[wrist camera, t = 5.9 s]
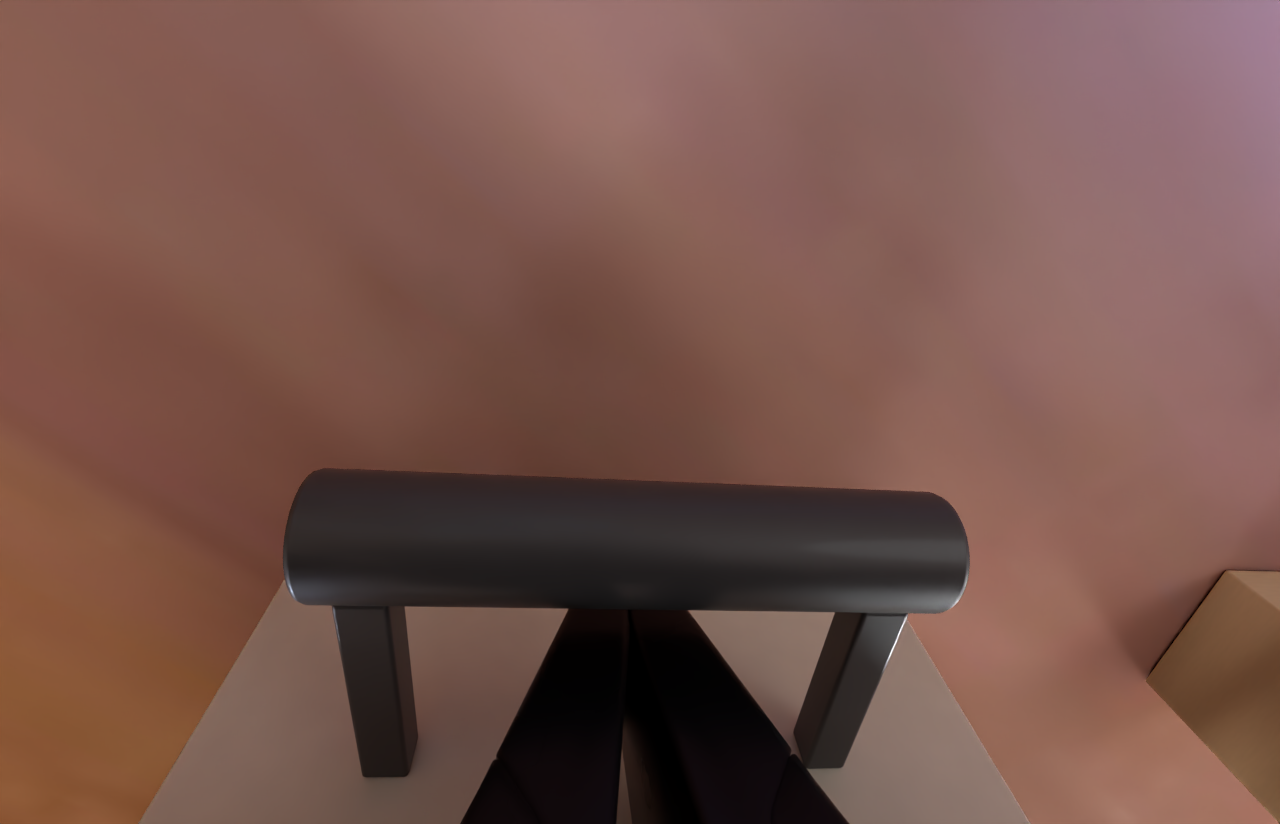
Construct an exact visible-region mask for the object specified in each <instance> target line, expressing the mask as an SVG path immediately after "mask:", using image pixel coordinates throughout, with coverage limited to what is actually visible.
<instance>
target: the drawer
mask: <svg viewBox="0 0 1280 824" xmlns="http://www.w3.org/2000/svg"><path fill="white" fill-rule="evenodd" d="M969 566H970V555H969V546H968V540H967V536H966V533H965V529H964V527H963V524H962V522H961V520H960V518H959V516H958V514H957V512H956V511H955V509H954V508H953V507H952V506H951V505H950V504H949V503H948V502H947V501H946V500H945V499H943V498H942V497H940V496H938V495H936V494H934V493H930V492H916V491H891V490H866V489H840V488H815V487H790V486H764V485H739V484H714V483H689V482H663V481H638V480H613V479H587V478H562V477H537V476H512V475H486V474H461V473H436V472H411V471H385V470H360V469H335V468H323V469H320V470H317V471H314V472H312V473H311V474H309V475H308V476H307V477H306V479H305V480H304V481H303V482H302V484H301V486H300V487H299V489H298V491H297V493H296V495H295V498H294V500H293V503H292V506H291V509H290V512H289V516H288V520H287V525H286V530H285V536H284V546H283V569H284V577H285V579H284V581H283V582H282V584H281V586H280V587H279V589H278V591H277V592H276V594H275V596H274V597H273V599H272V601H271V602H270V604H269V606H268V608H267V609H266V611H265V613H264V614H263V616H262V618H261V619H260V621H259V623H258V624H257V626H256V628H255V629H254V631H253V633H252V634H251V636H250V638H249V639H248V641H247V643H246V644H245V646H244V648H243V649H242V651H241V653H240V654H239V656H238V658H237V659H236V661H235V663H234V664H233V666H232V668H231V669H230V671H229V673H228V674H227V676H226V678H225V679H224V681H223V683H222V684H221V686H220V688H219V689H218V691H217V693H216V694H215V696H214V698H213V699H212V701H211V703H210V704H209V706H208V708H207V709H206V711H205V713H204V714H203V716H202V718H201V719H200V721H199V723H198V724H197V726H196V728H195V729H194V731H193V733H192V734H191V736H190V738H189V739H188V741H187V743H186V745H185V746H184V748H183V750H182V751H181V753H180V755H179V756H178V758H177V760H176V761H175V763H174V765H173V766H172V768H171V770H170V771H169V773H168V775H167V776H166V778H165V780H164V781H163V783H162V785H161V786H160V788H159V790H158V791H157V793H156V795H155V796H154V798H153V800H152V801H151V803H150V805H149V806H148V808H147V810H146V811H145V813H144V815H143V816H142V818H141V820H140V821H139V823H138V824H460V823H461V821H462V819H463V817H464V815H465V813H466V812H467V810H468V808H469V806H470V804H471V802H472V800H473V799H474V797H475V795H476V793H477V791H478V789H479V787H480V785H481V783H482V781H483V779H484V777H485V775H486V773H487V771H488V769H489V767H490V765H491V763H492V761H493V760H495V759H496V754H497V752H498V750H499V748H500V746H501V744H502V742H503V740H504V738H505V736H506V734H507V732H508V730H509V728H510V726H511V724H512V722H513V720H514V718H515V716H516V714H517V712H518V710H519V708H520V706H521V704H522V701H523V699H524V697H525V695H526V693H527V691H528V689H529V687H530V685H531V683H532V681H533V679H534V677H535V675H536V673H537V671H538V669H539V667H540V665H541V663H542V661H543V659H544V657H545V655H546V653H547V651H548V649H549V647H550V645H551V643H552V641H553V639H554V637H555V635H556V633H557V631H558V629H559V627H560V625H561V623H562V621H563V619H564V617H565V615H566V613H567V611H568V609H626V610H688V611H689V612H690V613H691V615H692V616H693V617H694V619H695V620H696V621H697V623H698V624H699V625H700V627H701V628H702V630H703V631H704V632H705V634H706V635H707V636H708V638H709V639H710V640H711V642H712V643H713V644H714V646H715V647H716V648H717V650H718V651H719V652H720V654H721V655H722V656H723V658H724V659H725V660H726V662H727V663H728V664H729V666H730V667H731V668H732V670H733V671H734V672H735V674H736V675H737V676H738V678H739V679H740V680H741V682H742V683H743V684H744V686H745V687H746V688H747V690H748V691H749V692H750V694H751V695H752V696H753V698H754V699H755V700H756V702H757V703H758V704H759V706H760V707H761V708H762V710H763V711H764V713H765V714H766V715H767V717H768V718H769V719H770V721H771V722H772V723H773V725H774V726H775V727H776V729H777V730H778V731H779V733H780V734H781V735H782V737H783V738H784V739H785V741H786V742H787V743H788V745H789V746H790V747H791V750H792V751H791V754H796V755H797V756H798V758H799V759H800V760H801V762H802V763H803V764H804V766H805V767H806V768H807V770H808V771H809V773H810V774H811V775H812V777H813V778H814V779H815V781H816V782H817V783H818V784H819V786H820V787H821V788H822V789H823V791H824V792H825V793H826V795H827V796H828V797H829V798H830V800H831V801H832V802H833V803H834V805H835V806H836V807H837V809H838V810H839V811H840V812H841V814H842V815H843V816H844V817H845V819H846V820H847V821H848V822H849V824H1030V822H1029V820H1028V819H1027V817H1026V815H1025V814H1024V812H1023V810H1022V809H1021V807H1020V805H1019V804H1018V802H1017V800H1016V799H1015V797H1014V795H1013V794H1012V792H1011V790H1010V789H1009V787H1008V786H1007V784H1006V782H1005V781H1004V779H1003V777H1002V776H1001V774H1000V772H999V771H998V769H997V767H996V766H995V764H994V762H993V761H992V759H991V757H990V756H989V754H988V752H987V751H986V749H985V747H984V746H983V744H982V742H981V741H980V739H979V737H978V736H977V734H976V732H975V731H974V729H973V727H972V726H971V724H970V723H969V721H968V719H967V718H966V716H965V714H964V713H963V711H962V709H961V708H960V706H959V704H958V703H957V701H956V699H955V698H954V696H953V694H952V693H951V691H950V689H949V688H948V686H947V684H946V683H945V681H944V679H943V678H942V676H941V674H940V673H939V671H938V669H937V668H936V666H935V665H934V663H933V661H932V660H931V658H930V656H929V655H928V653H927V651H926V650H925V648H924V646H923V645H922V643H921V641H920V640H919V638H918V636H917V635H916V633H915V631H914V630H913V628H912V626H911V625H910V623H909V621H908V620H907V617H908V613H925V614H936V613H942V612H944V611H946V610H948V609H950V608H952V607H953V606H954V605H955V604H956V603H957V602H958V601H959V600H960V598H961V596H962V595H963V593H964V590H965V588H966V584H967V581H968V575H969ZM790 756H791V755H790ZM616 824H632V819H631V811H630V804H629V797H628V789H627V782H626V774H625V767H624V760H623V752H622V753H621V767H620V780H619V794H618V808H617V821H616Z"/></svg>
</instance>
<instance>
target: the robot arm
mask: <svg viewBox="0 0 1280 824" xmlns="http://www.w3.org/2000/svg"><path fill="white" fill-rule="evenodd" d="M791 751H792V750H791V747H790V746H789V745H788V743H787V742H786V741H785V739H784V738H783V737H782V735H781V734H780V733H779V731H778V730H777V729H776V727H775V726H774V725H773V723H772V722H771V721H770V719H769V718H768V717H767V715H766V714H765V713H764V711H763V710H762V708H761V707H760V706H759V704H758V703H757V702H756V700H755V699H754V698H753V696H752V695H751V694H750V692H749V691H748V690H747V688H746V687H745V686H744V684H743V683H742V682H741V680H740V679H739V678H738V676H737V675H736V674H735V672H734V671H733V670H732V668H731V667H730V666H729V664H728V663H727V662H726V660H725V659H724V658H723V656H722V655H721V654H720V652H719V651H718V650H717V648H716V647H715V646H714V644H713V643H712V642H711V640H710V639H709V638H708V636H707V635H706V634H705V632H704V631H703V630H702V628H701V627H700V625H699V624H698V623H697V621H696V620H695V619H694V617H693V616H692V615H691V613H690V612H689V611H688V610H626V609H568V611H567V613H566V615H565V617H564V619H563V621H562V623H561V625H560V627H559V629H558V631H557V633H556V635H555V637H554V639H553V641H552V643H551V645H550V647H549V649H548V651H547V653H546V655H545V657H544V659H543V661H542V663H541V665H540V667H539V669H538V671H537V673H536V675H535V677H534V679H533V681H532V683H531V685H530V687H529V689H528V691H527V693H526V695H525V697H524V699H523V701H522V704H521V706H520V708H519V710H518V712H517V714H516V716H515V718H514V720H513V722H512V724H511V726H510V728H509V730H508V732H507V734H506V736H505V738H504V740H503V742H502V744H501V746H500V748H499V750H498V752H497V754H496V759H495V760H493V761H492V763H491V765H490V767H489V769H488V771H487V773H486V775H485V777H484V779H483V781H482V783H481V785H480V787H479V789H478V791H477V793H476V795H475V797H474V799H473V800H472V802H471V804H470V806H469V808H468V810H467V812H466V813H465V815H464V817H463V819H462V821H461V823H460V824H616V821H617V808H618V794H619V780H620V767H621V753H622V752H623V760H624V767H625V774H626V782H627V789H628V797H629V804H630V811H631V819H632V824H849V822H848V821H847V820H846V819H845V817H844V816H843V815H842V814H841V812H840V811H839V810H838V809H837V807H836V806H835V805H834V803H833V802H832V801H831V800H830V798H829V797H828V796H827V795H826V793H825V792H824V791H823V789H822V788H821V787H820V786H819V784H818V783H817V782H816V781H815V779H814V778H813V777H812V775H811V774H810V773H809V771H808V770H807V768H806V767H805V766H804V764H803V763H802V762H801V760H800V759H799V758H798V756H797V755H796V754H791ZM790 755H791V756H790Z"/></svg>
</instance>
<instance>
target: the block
mask: <svg viewBox="0 0 1280 824" xmlns="http://www.w3.org/2000/svg"><path fill="white" fill-rule="evenodd" d="M1146 682H1147V683H1148V684H1149V685H1150V686H1151V687H1152V688H1153V689H1154V690H1155V691H1156V693H1157V694H1158V695H1159V696H1160V697H1161V698H1162V699H1163V700H1164V701H1165V702H1166V703H1167V704H1168V705H1169V706H1170V707H1171V709H1172V710H1173V711H1174V712H1175V713H1176V714H1177V715H1178V716H1179V717H1180V718H1181V719H1182V720H1183V721H1184V722H1185V723H1186V724H1187V726H1188V727H1189V728H1190V729H1191V730H1192V731H1193V732H1194V733H1195V734H1196V735H1197V736H1198V737H1199V738H1200V739H1201V740H1202V742H1203V743H1204V744H1205V745H1206V746H1207V747H1208V748H1209V749H1210V750H1211V751H1212V752H1213V753H1214V754H1215V755H1216V756H1217V758H1218V759H1219V760H1220V761H1221V762H1222V763H1223V764H1224V765H1225V766H1226V767H1227V768H1228V769H1229V770H1230V771H1231V772H1232V773H1233V775H1234V776H1235V777H1236V778H1237V779H1238V780H1239V781H1240V782H1241V783H1242V784H1243V785H1244V786H1245V787H1246V788H1247V789H1248V791H1249V792H1250V793H1251V794H1252V795H1253V796H1254V797H1255V798H1256V799H1257V800H1258V801H1259V802H1260V803H1261V804H1262V805H1263V807H1264V808H1265V809H1266V810H1267V811H1268V812H1269V813H1270V814H1271V815H1272V816H1273V817H1274V818H1275V819H1276V820H1277V821H1278V823H1279V824H1280V572H1276V571H1235V570H1227V571H1225V572H1224V574H1223V575H1222V577H1221V578H1220V579H1219V581H1218V582H1217V583H1216V585H1215V586H1214V587H1213V589H1212V590H1211V592H1210V593H1209V594H1208V596H1207V597H1206V598H1205V600H1204V601H1203V602H1202V604H1201V605H1200V607H1199V608H1198V609H1197V611H1196V612H1195V613H1194V615H1193V616H1192V617H1191V619H1190V620H1189V622H1188V623H1187V624H1186V626H1185V627H1184V628H1183V630H1182V631H1181V632H1180V634H1179V635H1178V637H1177V638H1176V639H1175V641H1174V642H1173V643H1172V645H1171V646H1170V647H1169V649H1168V650H1167V652H1166V653H1165V654H1164V656H1163V657H1162V658H1161V660H1160V661H1159V663H1158V664H1157V665H1156V667H1155V668H1154V669H1153V671H1152V672H1151V673H1150V675H1149V676H1148V678H1147V679H1146Z"/></svg>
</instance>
